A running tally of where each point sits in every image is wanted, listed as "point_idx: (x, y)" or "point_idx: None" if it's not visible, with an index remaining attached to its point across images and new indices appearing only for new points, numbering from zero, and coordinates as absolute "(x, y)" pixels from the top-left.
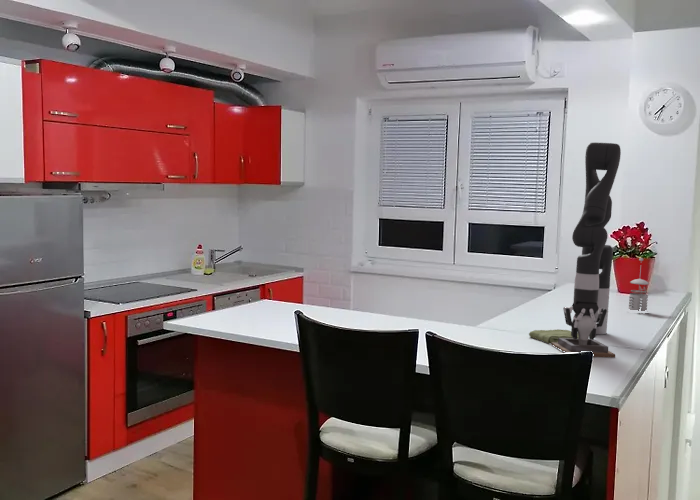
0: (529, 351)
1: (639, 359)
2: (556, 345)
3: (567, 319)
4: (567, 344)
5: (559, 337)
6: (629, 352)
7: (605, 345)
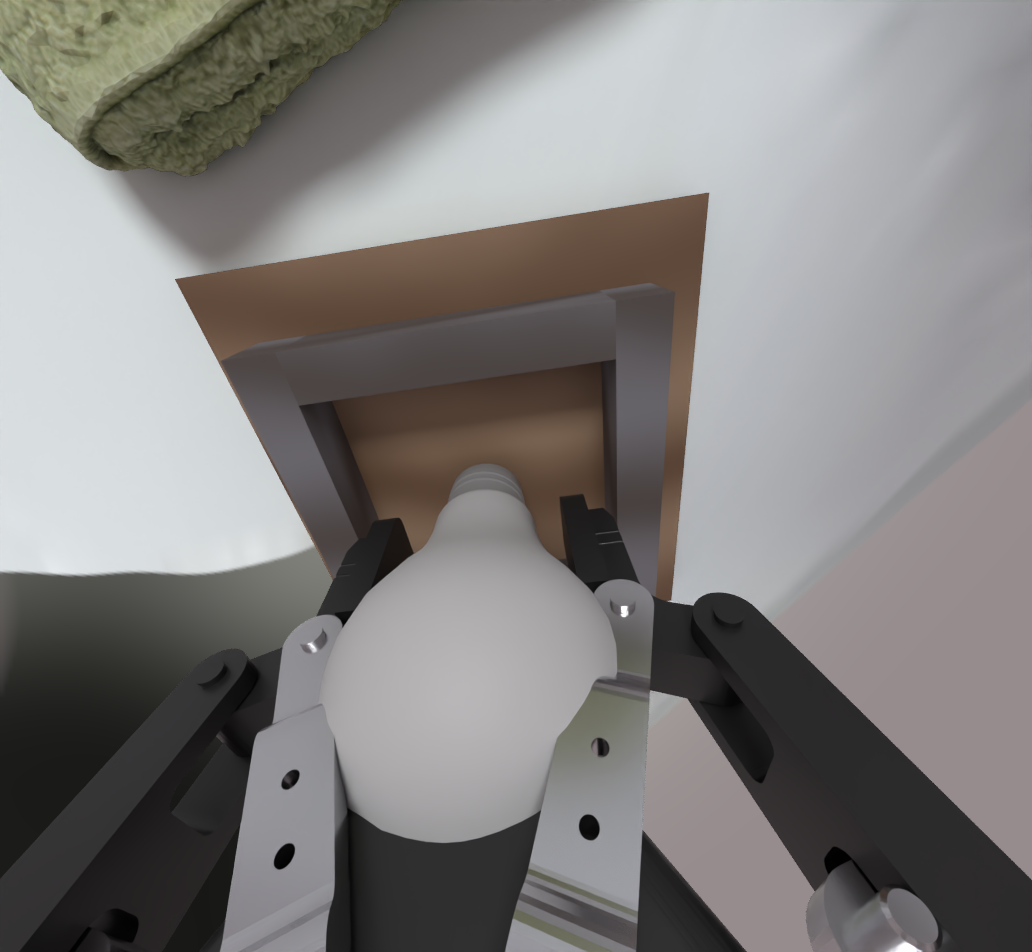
0: (96, 567)
1: (802, 588)
2: (256, 433)
3: (181, 811)
4: None
5: (225, 56)
6: (903, 400)
7: (650, 580)
